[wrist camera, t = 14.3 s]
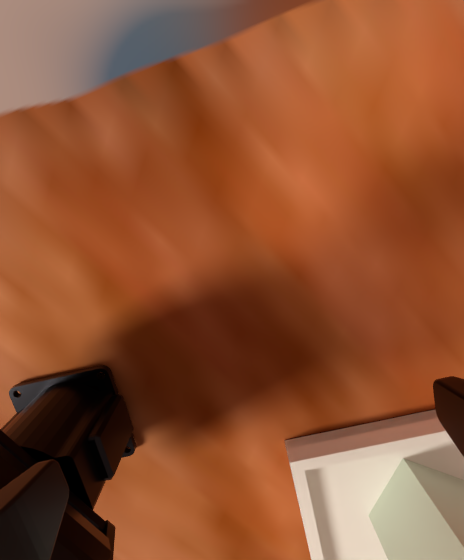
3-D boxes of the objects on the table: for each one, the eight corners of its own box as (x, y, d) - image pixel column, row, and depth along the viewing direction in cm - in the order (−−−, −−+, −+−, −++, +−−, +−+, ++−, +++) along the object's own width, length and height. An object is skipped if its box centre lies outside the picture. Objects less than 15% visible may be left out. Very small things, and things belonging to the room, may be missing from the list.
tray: (314, 573, 26) (321, 604, 24) (284, 440, 23) (289, 462, 21) (527, 533, 25) (552, 561, 23) (522, 391, 22) (550, 409, 20)
